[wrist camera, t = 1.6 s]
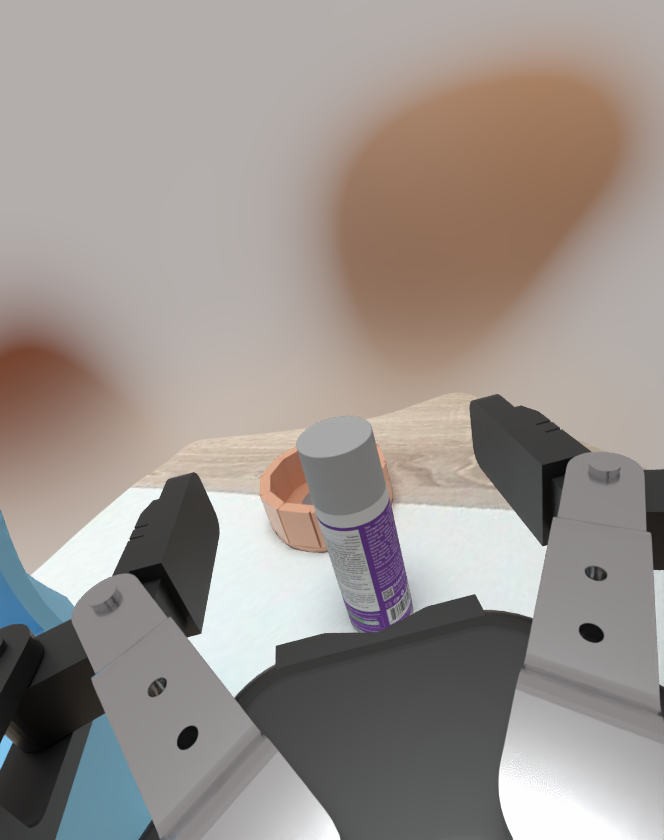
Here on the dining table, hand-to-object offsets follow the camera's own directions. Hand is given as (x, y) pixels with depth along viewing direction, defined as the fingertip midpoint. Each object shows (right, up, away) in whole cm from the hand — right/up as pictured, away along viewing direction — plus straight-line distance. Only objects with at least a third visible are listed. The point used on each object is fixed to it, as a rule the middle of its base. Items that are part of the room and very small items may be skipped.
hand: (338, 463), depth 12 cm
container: (+3, -13, +19) cm, 23 cm away
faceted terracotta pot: (0, -7, +30) cm, 31 cm away
